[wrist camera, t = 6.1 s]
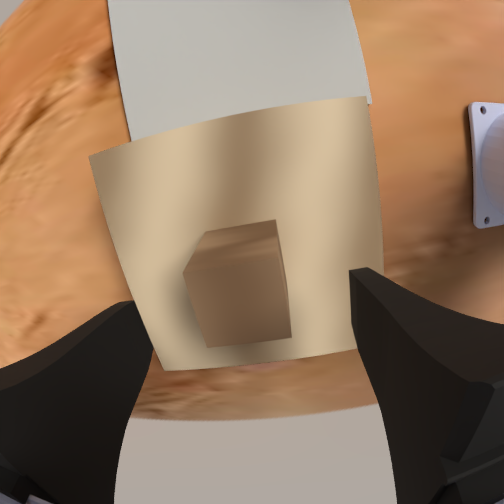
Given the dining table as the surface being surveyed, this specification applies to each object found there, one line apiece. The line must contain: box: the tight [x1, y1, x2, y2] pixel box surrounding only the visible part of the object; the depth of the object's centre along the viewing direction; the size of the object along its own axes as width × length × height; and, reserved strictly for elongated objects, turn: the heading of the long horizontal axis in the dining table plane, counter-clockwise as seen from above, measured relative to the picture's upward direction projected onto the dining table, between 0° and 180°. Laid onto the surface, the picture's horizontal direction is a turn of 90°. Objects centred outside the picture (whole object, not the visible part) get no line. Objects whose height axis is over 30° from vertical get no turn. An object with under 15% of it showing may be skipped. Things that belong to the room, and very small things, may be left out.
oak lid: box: [89, 96, 384, 371], centre depth 13 cm, size 12×12×5 cm
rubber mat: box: [108, 0, 372, 141], centre depth 13 cm, size 13×13×1 cm
